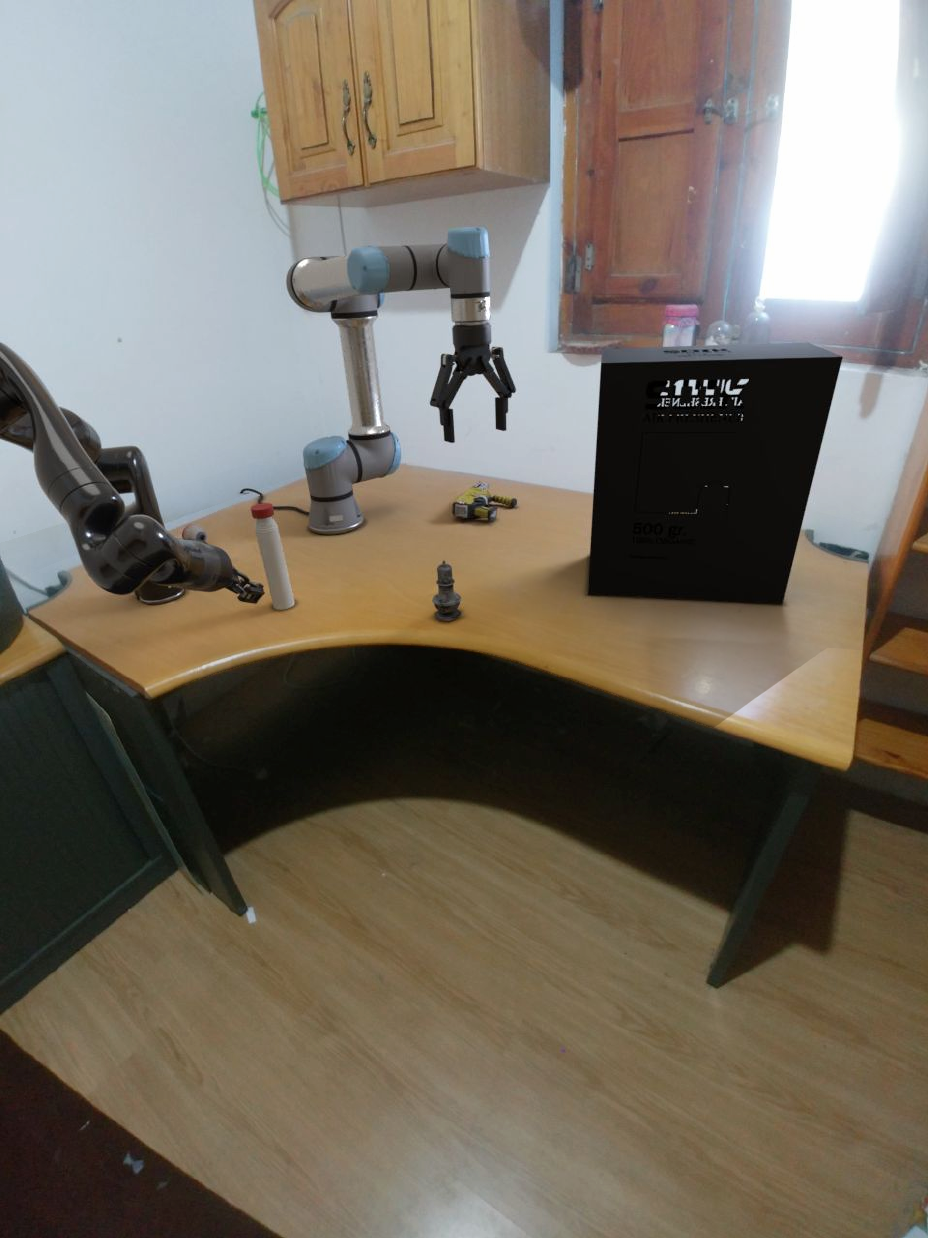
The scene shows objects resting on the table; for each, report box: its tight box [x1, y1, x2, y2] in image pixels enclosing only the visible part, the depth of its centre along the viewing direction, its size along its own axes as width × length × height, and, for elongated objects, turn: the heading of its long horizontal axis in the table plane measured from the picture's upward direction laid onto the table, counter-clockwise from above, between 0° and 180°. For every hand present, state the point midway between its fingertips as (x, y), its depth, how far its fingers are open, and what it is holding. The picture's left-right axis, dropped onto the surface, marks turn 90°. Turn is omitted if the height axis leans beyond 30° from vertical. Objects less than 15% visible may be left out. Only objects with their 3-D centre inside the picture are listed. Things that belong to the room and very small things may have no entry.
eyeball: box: [181, 523, 208, 542], centre depth 159 cm, size 6×6×6 cm
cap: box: [250, 502, 275, 520], centre depth 119 cm, size 4×4×2 cm
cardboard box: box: [587, 342, 844, 605], centre depth 120 cm, size 38×20×45 cm, turn 78°
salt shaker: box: [431, 560, 462, 622], centre depth 119 cm, size 6×6×12 cm
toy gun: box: [451, 480, 518, 523], centre depth 174 cm, size 5×24×15 cm
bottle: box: [254, 516, 296, 611], centre depth 124 cm, size 4×4×22 cm
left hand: (241, 574), depth 109 cm, fingers open, 8 cm apart
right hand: (475, 435), depth 126 cm, fingers open, 13 cm apart
